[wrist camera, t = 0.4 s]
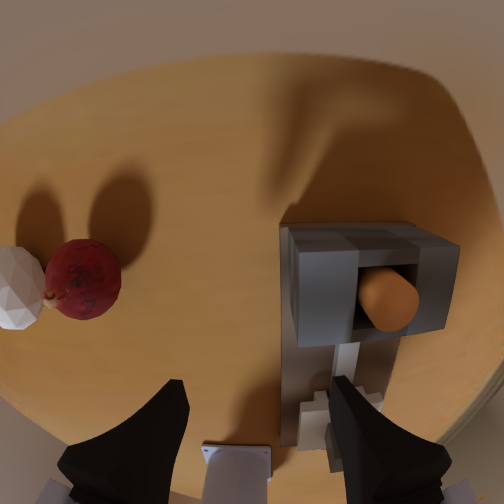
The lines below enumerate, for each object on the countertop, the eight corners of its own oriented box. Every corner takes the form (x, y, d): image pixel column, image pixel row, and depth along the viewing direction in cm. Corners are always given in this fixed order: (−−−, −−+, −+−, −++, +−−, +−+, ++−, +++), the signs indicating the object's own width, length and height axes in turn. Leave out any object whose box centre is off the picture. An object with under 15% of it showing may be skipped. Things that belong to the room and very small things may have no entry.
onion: (119, 218, 20) (54, 242, 12) (148, 284, 21) (100, 335, 14) (71, 244, 21) (9, 273, 13) (98, 302, 22) (47, 349, 14)
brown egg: (386, 297, 16) (413, 328, 12) (347, 301, 16) (367, 335, 12) (391, 256, 15) (422, 279, 11) (350, 258, 15) (374, 283, 11)
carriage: (363, 424, 23) (378, 472, 17) (295, 432, 23) (300, 484, 17) (376, 383, 21) (398, 435, 15) (299, 392, 22) (306, 450, 15)
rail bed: (366, 427, 25) (383, 477, 18) (279, 436, 26) (281, 492, 18) (406, 221, 19) (466, 245, 12) (279, 223, 20) (288, 253, 12)
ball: (62, 262, 24) (60, 302, 18) (27, 313, 23) (22, 361, 17) (11, 218, 19) (-10, 246, 13) (-22, 275, 18) (-42, 317, 12)
